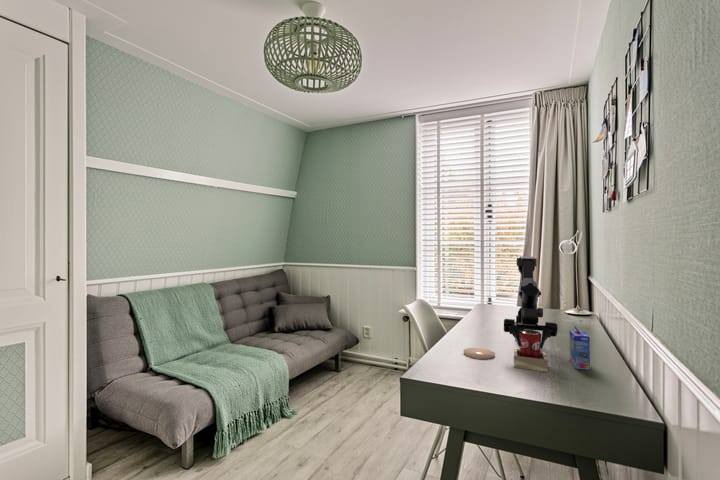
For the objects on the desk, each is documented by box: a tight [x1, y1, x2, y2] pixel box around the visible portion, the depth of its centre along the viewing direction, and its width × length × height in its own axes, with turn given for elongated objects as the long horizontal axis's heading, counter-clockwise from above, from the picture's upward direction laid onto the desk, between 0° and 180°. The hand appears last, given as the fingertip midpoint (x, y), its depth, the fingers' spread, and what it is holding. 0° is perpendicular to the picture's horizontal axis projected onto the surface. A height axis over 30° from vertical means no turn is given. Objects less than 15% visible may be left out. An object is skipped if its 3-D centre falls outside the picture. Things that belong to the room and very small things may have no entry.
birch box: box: [513, 348, 549, 372], centre depth 144 cm, size 11×11×4 cm
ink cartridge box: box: [569, 325, 591, 371], centre depth 145 cm, size 10×6×14 cm, turn 161°
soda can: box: [519, 330, 542, 359], centre depth 145 cm, size 7×7×12 cm
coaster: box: [463, 347, 496, 360], centre depth 157 cm, size 12×12×1 cm
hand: (530, 347), depth 143 cm, fingers closed on soda can, 7 cm apart
